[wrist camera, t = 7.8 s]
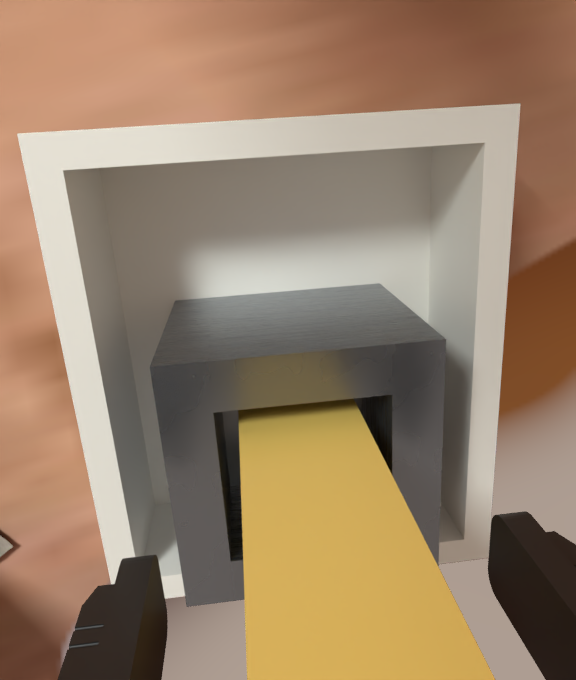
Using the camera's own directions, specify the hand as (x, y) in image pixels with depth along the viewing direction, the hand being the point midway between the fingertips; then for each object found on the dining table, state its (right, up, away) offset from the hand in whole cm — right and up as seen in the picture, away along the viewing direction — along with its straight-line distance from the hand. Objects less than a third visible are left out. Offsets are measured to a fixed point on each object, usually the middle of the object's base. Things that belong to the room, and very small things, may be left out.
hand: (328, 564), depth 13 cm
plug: (-1, +2, +7) cm, 7 cm away
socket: (-1, +3, +10) cm, 10 cm away
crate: (-1, +5, +10) cm, 11 cm away
